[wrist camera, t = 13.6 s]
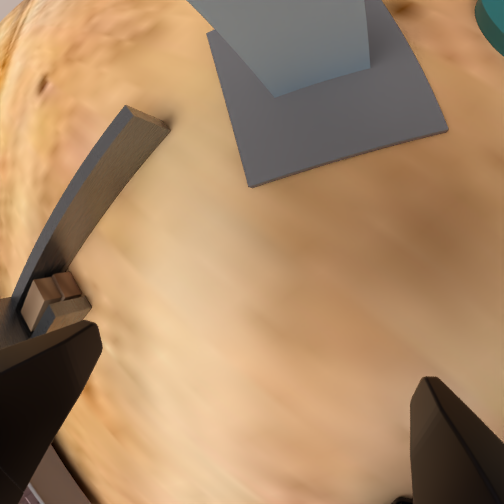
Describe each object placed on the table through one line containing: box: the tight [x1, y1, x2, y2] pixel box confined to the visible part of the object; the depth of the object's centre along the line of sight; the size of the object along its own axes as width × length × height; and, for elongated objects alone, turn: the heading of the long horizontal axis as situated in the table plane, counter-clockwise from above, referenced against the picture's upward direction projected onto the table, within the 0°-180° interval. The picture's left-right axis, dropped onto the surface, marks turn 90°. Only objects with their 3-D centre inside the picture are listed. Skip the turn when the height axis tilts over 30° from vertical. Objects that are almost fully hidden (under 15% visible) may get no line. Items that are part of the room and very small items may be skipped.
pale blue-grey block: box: [187, 0, 370, 98], centre depth 10 cm, size 2×6×13 cm, turn 105°
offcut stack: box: [21, 272, 82, 332], centre depth 24 cm, size 2×5×4 cm, turn 131°
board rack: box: [0, 105, 170, 349], centre depth 18 cm, size 6×22×12 cm, turn 131°
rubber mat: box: [206, 0, 449, 188], centre depth 17 cm, size 12×12×1 cm
